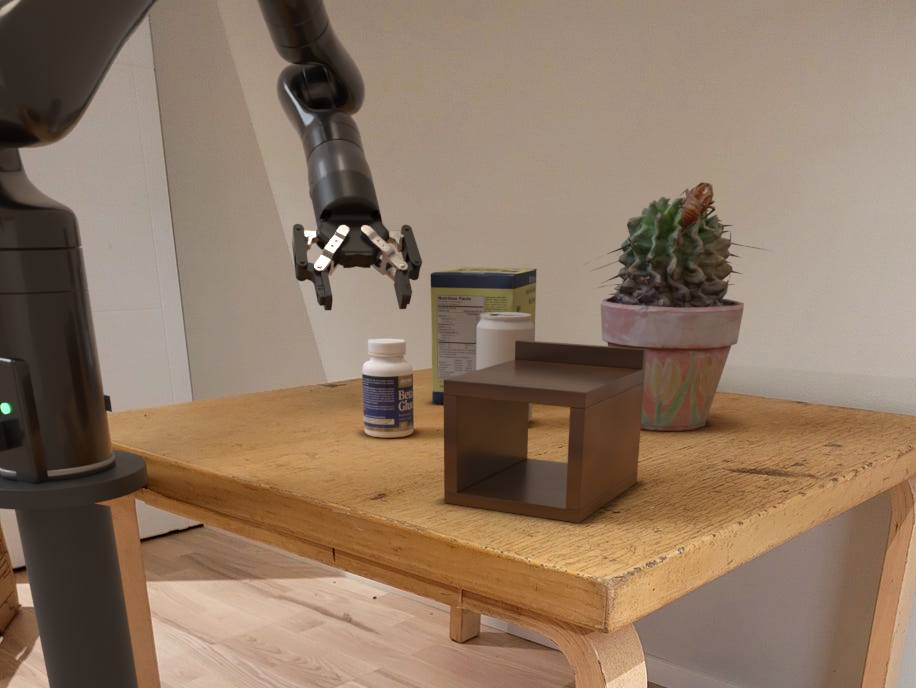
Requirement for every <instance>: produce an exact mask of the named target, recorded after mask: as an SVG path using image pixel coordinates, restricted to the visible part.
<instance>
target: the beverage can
mask: <svg viewBox="0 0 916 688" xmlns="http://www.w3.org/2000/svg"><path fill="white" fill-rule="evenodd" d="M480 317H481V320H480V321H479V323H478V324H477V337H476V370H480V369H483V368H487V367H490V366H494V365H498V364H501V363H505V362H508V361H512V360H515V341H517V340H526V341H534V325H533V323H532V322H531V314H527V313H517V312H488V313H481V314H480ZM532 409H533V404H531V403H529V419H528V421H530V420H531V419H532V411H533V410H532Z"/></svg>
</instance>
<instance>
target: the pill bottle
mask: <svg viewBox="0 0 916 688" xmlns="http://www.w3.org/2000/svg"><path fill="white" fill-rule="evenodd" d="M406 354H407V341H406V340H405V339H403V338H370V339H368V340H367V355H369V357H370V358H369V360H367V361H365V363H363V365H362V367H361V381H362V406H363V409H362V411H363V428H364V433H365V434H366V435H367V436H370V437H374V438H388V439H390V438H404V437H408V436H410V435H412V434H413V433H414V425H415V421H414V420H415V419H414V418H415V417H414V373H413V371H414V369H413V366H412V364H411V362H409V361H407V360H405V355H406Z"/></svg>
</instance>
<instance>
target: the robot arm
mask: <svg viewBox="0 0 916 688" xmlns="http://www.w3.org/2000/svg"><path fill="white" fill-rule="evenodd" d="M159 2H160V0H0V478H3V479H8V480H14V481H19V482H25V483H30V484H41V483H44V482H49V481H58V480H68V479H75V478H81V477H86V476H91V475H94V474H98V473H101V472H104V471H106V470H109V469H111V468H112V467H113V466H115V464H116V462H115V455H114V452H113V451H112V450H113V446H112V439H111V438H112V437H111V430H110V425H109V418H108V412H110V413H113V407H112V402H111V395H107V394H105V391H104V384H103V378H102V377H103V376H102V370H101V365H100V364H101V363H100V359H99V358H100V357H99V351H98V345H97V343H98V342H97V338H96V332H95V324H94V318H93V311H92V303H91V299H90V298H91V297H90V291H89V284H88V283H89V281H88V277H87V276H88V275H87V269H86V264H85V263H86V262H85V257H84V250H83V249H84V248H82V237H81V230H80V226H79V221H78V217H77V214H76V213H75V212H74V210H73V209H72V208H71V207H69V206H68V205H66V204H64V203H62V202H60V201H58V200H56V199H55V198H52V197H50V196H48V194H45V193H43V192H42V191H41V190H40V189H39V188H38V187H37V186H35V185H34V183H33V182H32V181H31V180H30V178H29V177H28V175H27V173H26V170H25V167H24V163H23V160H22V156H21V152H20V149H36V148H43V147H48V146H51V145H54V144H56V143H58V142H60V141H62V140H63V139H64V138H66V137H67V136H68V135H70V134H71V133H72V132H73V130H74V129H75V128H76V127H77V126H78V124H79V123H80V122H81V120H82V118H83V117H84V115H85V114H86V112H87V110H88V109H89V108H90V106H91V104H92V102H93V101H94V99H95V97H96V95H97V93H98V91H99V90H100V88H101V86H102V83H103V82H104V80H105V78H106V76H107V75H108V73H109V71H110V69H111V68H112V67H113V65H114V63H115V61H116V59H117V57H118V56H119V54H120V53H121V51H122V49H123V48H124V47H125V45H126V44H127V42H128V41H129V40H130V39H131V38H132V37H133V35H135V33H136V31H137V30H138V29H139V28H140V26H142V25H143V22H144V21H146V19H147V17H148V15H149V14H150V13H151V12H152V11H153V9H154V8H155V7H156V5H157V4H158V3H159ZM256 2H257V5H258V8H259V10H260V13H261V16H262V18H263V21H264V23H265V26H266V28H267V31H268V34H269V37H270V40H271V43H272V45H273V48H274V49H275V51H276V53H277V54H278V56H279V57H281V59H282V60H284V61H285V62H287V63H288V64H289V63H290V64H289V65H286V66H285V67H283V69H281V71H280V73H279V74H278V77H277V81H276V94H277V99H278V102H279V104H280V106H281V109H282V111H283V113H284V114H285V116H286V118H287V119H288V120H289V123H290V124H291V126H292V127H293V129H294V130H295V131H296V133H297V135H298V137H299V140H300V142H301V144H302V149H303V154H304V157H305V163H306V168H307V182H308V188H309V191H308V193H309V199H311V204H312V208H313V215H314V218H315V223H316V230H308V229H307V230H306V229H305V227H304V226H303V224H301V223H294V225H293V226H292V237H291V247H292V248H291V249H292V256H293V264H294V274H295V279H296V281H298V282H305V281H306V280H307V281H310V282H312V283H313V286H314V292H315V295H316V296H315V297H316V301H317V304H318V305H319V306H321V307H322V306H323V310H324V311H332V308H333V293H332V289H331V288H332V287H331V283H330V277H329V276H332V275H333V273H334V272H335V271H336V269H337V268H338V267H339V266H341V267H343V269H352V268H362V269H371V267H372V268H374V270H376V271H377V272H378V273H379V274H381V275H382V276H385V275H386V276H387V277H388V278H389V279H391V280H392V281H393V282H394V283H393V287H394V292H395V297H396V300H397V305H398V309H399V310H406V309H407V307H408V305H410V304H411V299H412V295H413V290H412V285H411V281H410V280H412V281H418V279H419V278H420V272H421V268H422V264H423V259H422V257H421V253H420V250H419V247H418V244H417V241H416V238H415V233H414V231H413V228H412V227H411V226H410V224H409V225H408V224H403V225H402V226H401V228H400V230H388V228H387V227H386V226H385V225H384V223H383V219H382V213H381V208H380V205H379V201H378V197H377V193H376V188H375V183H374V180H373V179H374V178H373V175H372V171H371V168H370V165H369V163H368V160H367V158H366V154H365V150H364V149H365V148H364V145H363V141H362V136H361V131H360V129H359V126H358V124H357V122H356V121H355V119H354V118H353V116H354V115H357V114H358V113H359V112H360V111H361V109H362V107H364V103H365V99H366V85H365V81H364V78H363V75H362V73H361V71H360V69H359V66H358V65H357V63H356V61H355V60H354V59H353V57H352V55H351V54H350V53H349V51H348V50H347V49H346V47H345V45H344V44H343V42H342V41H341V40H340V38H339V36H338V34H337V33H336V32H335V29H334V28H333V25H332V23H331V20H330V17H329V14H328V11H327V10H328V9H327V7H326V4H325V0H256ZM314 244H316V246H317V248H319V249H320V250H321V251H322V252H321V254H320V256H319V257H318V258H317V260H316V261H315V263H313V262H309V259H308V251H310V250H311V248H312V245H314ZM390 244H392V245H393V246H394V247H395V248H394V247H392V245H390ZM395 249H396V250H395ZM396 252H398V253H400V254H401V257H400V256H399V255H398V254H397V253H396ZM381 256H382V257H381ZM380 257H381V258H380Z"/></svg>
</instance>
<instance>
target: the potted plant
mask: <svg viewBox="0 0 916 688" xmlns="http://www.w3.org/2000/svg"><path fill="white" fill-rule="evenodd" d="M683 194H685V197H681V196H682V195H683ZM713 198H714V189H713V184H712V183H709V182H704V181H702V182H700V183H699V184H697V185H696V186H695V187H693V188H691V190H689V188H686V189H685V190H683V192H682V193H681V194H680V195H679V197H677V198H675V199H674V200H673V201H672V202H671V203H669V202H670V200H671V198H669V197H668V198H666V197H665V196H661V197H660V198H659V199H658V200H655V199H652V201H650V202H649V204H648V206H647V207H643V209H642V211H641V215H638V216H635V217H631V218H628V220H627V224H626V227H627V232H628V234H629V236H627V238H626V239H625V240H624V241H623V242H622V243H621V244H620V246H621V247H619V248H616V249H614V250H612V251H610V252H608V253H607V255H609V254H612V253H615V252H618V251H619V252H618V253H617V254H616V256H618V255H619V254H620V252H623V253H622V254H620V255H619V257H618V260H616V261H614V262H611V263H607V264H606V265H602V266H600V267H598V268H595V269H592V270H589V271H588V273H590V272H592V271H596V270H598V269H602V268H605V267H607V266H610V265H613V264H615V263H620V264H621V265H623V267H621V268H620V269H619V271H618V272H617V275H615V276H613V277H611V278H609V279H607V280H605V281H603V282H602V284H604V283H606V282H608V281H611V280H614V279H617V278H620V279H621V281H622V282H621V283H616V284H612V286H615V287H614V288H613V290H616V291H615V292H612V293H608V295H609V296H611V297H607V298H604V299H602V301H601V303H600V320H601V322H600V323H601V341H604V342H605V343H607V346H613V347H628V348H642V349H647V353H646V366H645V378H644V382H643V383H644V391H643V404H642V417H641V430H648V431H655V432H656V431H658V432H686V431H694V430H697V429H701V428H704V427H705V426H706V423H707V419H708V417H709V413H710V411H711V407H712V405H713V401H714V399H715V395H716V393H717V390H718V387H719V384H720V380H721V378H722V375H723V372H724V370H725V366H726V363H727V360H728V357H729V354H730V351H731V347H732V346H734V345H737V344H738V340H739V336H740V330H741V324H742V319H743V315H744V314H743V313H744V307H745V303H744V302H741V301H738V300H733V299H730V298H725V296H726V295H727V294H728V290H729V286H733V285H735V283H729V281H730V279H731V277H732V273H733V274H740V275H742V272H737V271H735V270H733V266H732V265H731V264H732V262H730V261H728V260H727V259H728V258H729V257H735V258H739V259H740V258H742V257H741V256H738V255H736V254H734V253H731V252H730V251H729V249H730V248H731V246H732V245H734V246H740V247H744V245H743V244H739V243H734V242H732V232H730V235H729V238H726V237H722V235H723V234H725V233H728V232H729V230H725V227H732V226H733V224H723V223H721V222H722V220H721V219H719V217H718V214H714V215H712V216H710V215H711V214H712V213H714V212H715V211H716V206H713V204H714V203H716V201H715V200H713ZM709 216H710V217H709ZM745 248H750V246H749V245H748V246H747V245H745ZM751 248H752V249H756V247H754V246H751ZM757 250H761V248H760V247H757ZM762 250H763V251H765V249H764V248H762ZM767 251H769V252H770V249H769V250H768V249H767ZM771 252H774V251H771ZM602 257H603V255H602V256H599V257H598V258H596V260H597V259H599V258H602ZM589 263H590V261H588V262H586V263H584V264H583V266H585V265H586V264H589ZM736 265H737V266H738V265H739V264H736ZM728 276H729V278H728V279H727V281H725V279H726V278H727V277H728ZM606 287H610V284H608V285H606ZM600 288H605V285H601V286H599V287H598V289H600ZM595 289H597V287H596V288H595Z"/></svg>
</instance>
